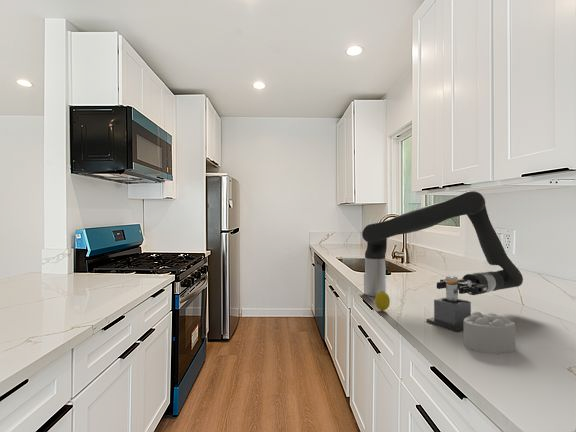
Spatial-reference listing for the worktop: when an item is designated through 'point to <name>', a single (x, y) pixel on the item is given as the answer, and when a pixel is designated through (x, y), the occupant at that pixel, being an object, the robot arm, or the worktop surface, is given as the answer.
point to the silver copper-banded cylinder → (451, 289)
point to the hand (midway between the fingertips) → (448, 288)
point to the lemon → (382, 300)
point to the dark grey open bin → (450, 314)
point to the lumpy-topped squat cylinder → (489, 333)
